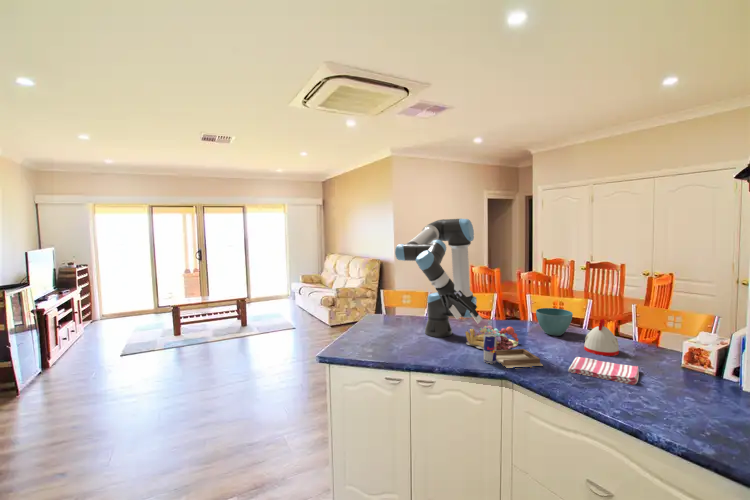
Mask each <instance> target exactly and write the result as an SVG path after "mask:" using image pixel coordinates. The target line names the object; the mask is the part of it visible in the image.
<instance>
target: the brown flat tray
mask: <svg viewBox="0 0 750 500" xmlns="http://www.w3.org/2000/svg"><path fill="white" fill-rule="evenodd" d="M496 362H498V363H499V364H500V363H501V364H502V365H501V364H500V365H501V366H503V367H504V366H505V367H506V368H513V367H530V368H533V367H532V366H543V367H544V365H543V363H541V358H540V357H538V356H537V355H535V354H533V353H532V352H530V351H528V350H527V349H525V348H512V349H511V348H510V349H509V350H496ZM505 367H504V368H505ZM506 368H505V369H506Z"/></svg>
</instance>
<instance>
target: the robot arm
mask: <svg viewBox="0 0 750 500" xmlns="http://www.w3.org/2000/svg"><path fill="white" fill-rule="evenodd" d="M472 223H473V222H472V221H471V220H470V219H468V218H449V219H448V218H447V219H438V220H434V221H432V222H430V223H429V224H427V225H425V226H424V227H423V228H422V229H421V232H419V233H418V234H417V235H416V236H414V237H413V238H412V239H411V240H409V241H408V242H407V243H399V244H397V245H396V247H395V250H394V254H395V258H396V259H397V261H402V262H403V261H404V262H406V261H407V262H408V261H409V262H411V261H412V262H413V261H414V262H416V264H417V266H418V268H419V269H420V270H421V272H422V273H423V274H424V275H425V276H426V278H427V279H428V281H429V282H430V283H431V286H433V287H434V288H435V290H436V291H437V292H432V293H429V294H428V296H427V302H426V303H427V321H426V324H425V327H424V334H425V335H426V336H429V337H434V338H435V337H437V338H442V337H449V336H451V335H452V334H453V328H452V325H451V323H450V318H449V317H452V318H453V317H454V318H455V319H456V321H457V320H459V319H460V318H463V319H466V318H468V319H470V318H471V319H472V318H473V320H474V321H475V322H476V324H477V325H478V324H480V323H481V322H482V320H483V318H482V316H481V315H480V314H479V312H477V311H478V310H476V309H477V308H478V305H477V302H478V301H477V297H476V296H474V293H473V291H472V290H471V289H470V288H471V286H470V267H469V266H470V265H469V246H470V245H471V244H472V241H474V238H475V236H474V235H475V233H474V227H473V224H472ZM445 242H447V243H448V246H449V247H450V248H451V265H452V279H451V278H450V276H449V274H448V273H447V272H446V271H445V269H443V266H442V265H441V263H442V261H443V258H444V257H445V256H446V252H447V245H446V243H445Z"/></svg>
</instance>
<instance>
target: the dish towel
mask: <svg viewBox="0 0 750 500" xmlns="http://www.w3.org/2000/svg"><path fill="white" fill-rule="evenodd" d="M567 371H568V373H570V372H571V374H575V373H577V375H581V374H582V376H586V377H587V376H588V377H591V376H592V378H597V379H602V380H607V381H613V382H617V383H621V384H628V385H632V386H634V385H636V384H637V383H638V381H639V376H640V375H639V374H640V373H639V372H640V369H639V366H638V365H637V366H636V365H629V364H621V363H620V364H618V363H614V362H611V361H602V360H598V359H594V358H589V357H582V356H581V357H580V356H576V357H575V358H574V359H573V361H572V363H571V365H570V366H569V368H568V370H567Z"/></svg>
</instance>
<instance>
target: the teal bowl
mask: <svg viewBox="0 0 750 500" xmlns="http://www.w3.org/2000/svg"><path fill="white" fill-rule="evenodd" d="M535 315H536V320H537V322H538V325H539V326H540V328H541V330H542V331H543V332H544V333H545V334H547V335H549V336H556V337H557V336H561V335H563V334H564V333H566V331H567V330H568V329H569V328H570V325H571V323H572V320H573V316H574V315H573V312H572V311H570V310H567V309H563V308H555V307H543V308H542V307H541V308H537V309H536V310H535Z"/></svg>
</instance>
